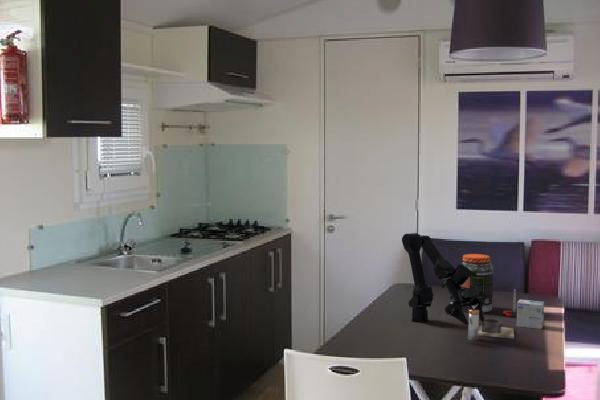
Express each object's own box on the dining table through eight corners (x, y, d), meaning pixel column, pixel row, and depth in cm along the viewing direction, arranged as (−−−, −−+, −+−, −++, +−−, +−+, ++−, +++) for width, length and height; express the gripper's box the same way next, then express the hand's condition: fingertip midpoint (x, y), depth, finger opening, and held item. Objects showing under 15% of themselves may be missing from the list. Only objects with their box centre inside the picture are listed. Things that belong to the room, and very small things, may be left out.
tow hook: (501, 312, 327) (504, 316, 318) (502, 285, 326) (505, 288, 317) (520, 313, 326) (523, 317, 316) (521, 286, 325) (524, 289, 316)
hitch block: (468, 334, 288) (469, 322, 288) (469, 326, 300) (470, 315, 299) (513, 338, 283) (514, 326, 283) (513, 330, 295) (513, 319, 294)
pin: (467, 339, 281) (468, 310, 279) (468, 337, 284) (469, 308, 283) (477, 340, 279) (478, 311, 278) (478, 338, 283) (479, 309, 282)
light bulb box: (543, 325, 303) (544, 301, 302) (541, 329, 297) (542, 304, 296) (518, 322, 308) (519, 298, 307) (516, 326, 302) (516, 302, 301)
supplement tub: (495, 308, 333) (497, 254, 331) (488, 315, 320) (490, 259, 317) (462, 304, 341) (464, 252, 338) (454, 311, 327) (455, 256, 324)
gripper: (450, 282, 278) (471, 315, 270) (482, 277, 288) (503, 309, 280) (436, 297, 285) (455, 330, 277) (467, 292, 296) (487, 323, 287)
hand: (475, 323), depth 280 cm, fingers open, 9 cm apart
